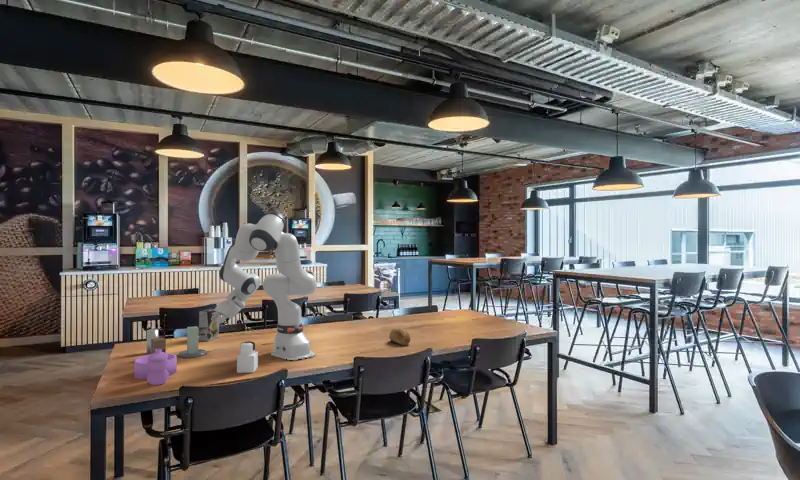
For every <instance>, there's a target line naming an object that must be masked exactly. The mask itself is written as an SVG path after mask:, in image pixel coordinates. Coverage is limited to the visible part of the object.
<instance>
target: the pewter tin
mask: <svg viewBox="0 0 800 480" xmlns="http://www.w3.org/2000/svg"><path fill="white" fill-rule="evenodd" d="M159 333H160V331H159V328H152V329H151V328H150V329H147V330H146V354H147V355H151V339H153V338H160V334H159Z"/></svg>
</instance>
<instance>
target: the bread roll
mask: <svg viewBox="0 0 800 480" xmlns="http://www.w3.org/2000/svg"><path fill="white" fill-rule="evenodd" d="M389 340H390V341H392V342H393V343H396V344H399V345H402V346H404V345H405V346H406V345H409V344H410V342H411V336H410V333H409V332H408V331H407V329H404V328H401V327H400V328H399V327H398V328H396V327H395V328H392V329H391V330H390V332H389Z"/></svg>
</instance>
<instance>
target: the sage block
mask: <svg viewBox="0 0 800 480" xmlns="http://www.w3.org/2000/svg"><path fill="white" fill-rule="evenodd" d="M186 332H187V333H186V335H187V336H186V350H187V353H189V354H192V353H198V349H199V326H197V325H195V326H187V328H186Z"/></svg>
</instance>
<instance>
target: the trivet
mask: <svg viewBox="0 0 800 480" xmlns="http://www.w3.org/2000/svg"><path fill="white" fill-rule="evenodd" d="M206 354H207V349H202V348H201V349H200V348H198V353H192V354H189V353H187V349H186V350H183V351H180V352H178V355H177V356H178V357H179V358H182V359H192V358H199V357H203V356H205V355H206Z"/></svg>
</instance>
